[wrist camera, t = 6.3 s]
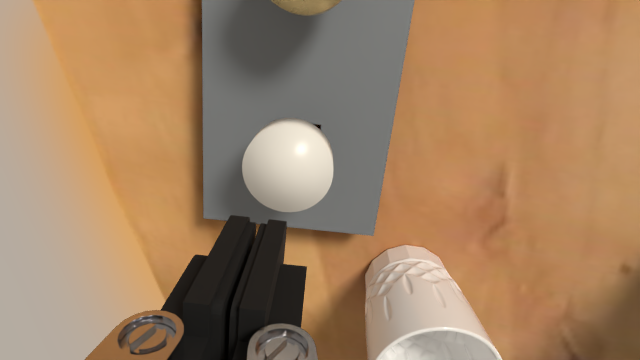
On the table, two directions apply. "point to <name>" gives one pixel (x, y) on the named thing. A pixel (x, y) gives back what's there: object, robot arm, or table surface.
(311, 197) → the white knob
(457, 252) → the table surface
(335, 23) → the knob mount
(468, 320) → the white cup
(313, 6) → the brass knob
